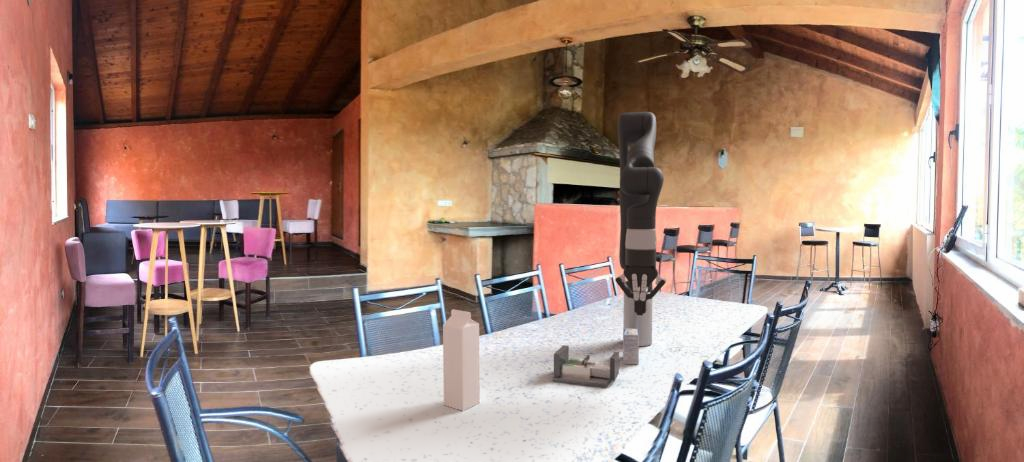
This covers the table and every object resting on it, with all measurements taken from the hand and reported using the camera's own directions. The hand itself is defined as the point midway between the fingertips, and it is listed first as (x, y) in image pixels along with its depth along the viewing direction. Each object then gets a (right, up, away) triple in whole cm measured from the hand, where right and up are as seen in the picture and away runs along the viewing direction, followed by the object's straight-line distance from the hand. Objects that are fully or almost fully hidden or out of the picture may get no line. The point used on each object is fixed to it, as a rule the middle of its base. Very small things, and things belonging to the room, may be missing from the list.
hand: (640, 314), depth 136 cm
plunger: (-10, -17, +5) cm, 20 cm away
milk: (-44, -19, -11) cm, 50 cm away
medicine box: (+2, -17, +22) cm, 28 cm away
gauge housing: (-13, -18, +6) cm, 23 cm away
